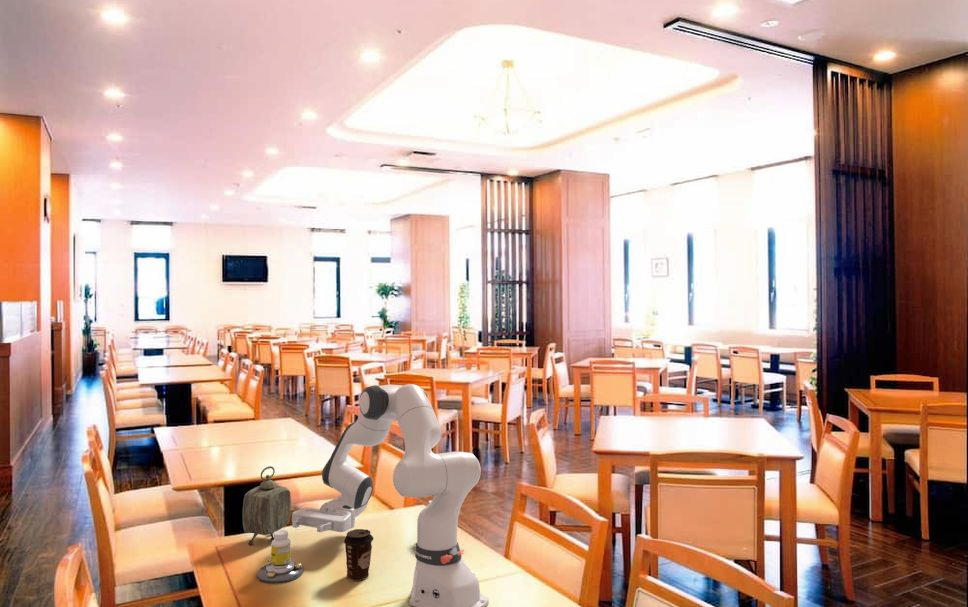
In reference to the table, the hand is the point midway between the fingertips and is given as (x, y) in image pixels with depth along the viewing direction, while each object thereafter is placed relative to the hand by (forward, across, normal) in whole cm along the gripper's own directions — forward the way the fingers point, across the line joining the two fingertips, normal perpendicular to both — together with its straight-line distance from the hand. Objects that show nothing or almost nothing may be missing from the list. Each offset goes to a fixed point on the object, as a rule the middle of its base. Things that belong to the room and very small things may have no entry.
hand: (306, 527), depth 207 cm
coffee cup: (+4, +22, +10) cm, 25 cm away
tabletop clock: (-8, -22, +10) cm, 25 cm away
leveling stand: (+12, 0, +10) cm, 16 cm away
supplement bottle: (+12, 0, +8) cm, 14 cm away
